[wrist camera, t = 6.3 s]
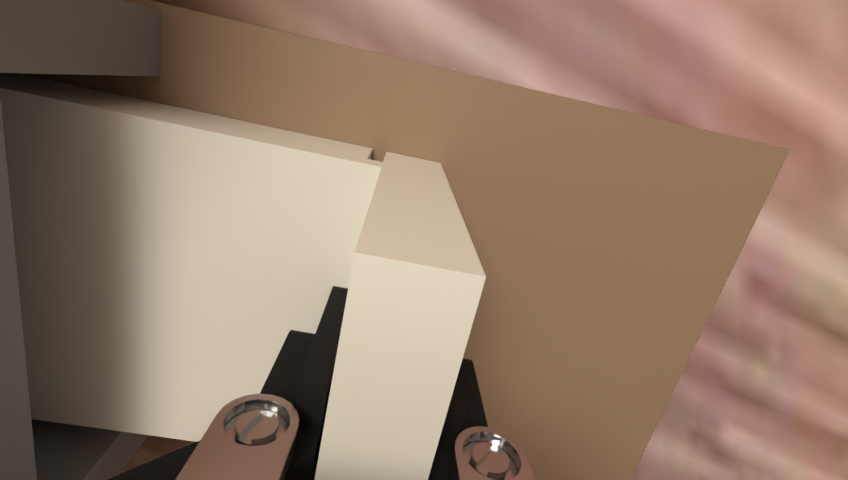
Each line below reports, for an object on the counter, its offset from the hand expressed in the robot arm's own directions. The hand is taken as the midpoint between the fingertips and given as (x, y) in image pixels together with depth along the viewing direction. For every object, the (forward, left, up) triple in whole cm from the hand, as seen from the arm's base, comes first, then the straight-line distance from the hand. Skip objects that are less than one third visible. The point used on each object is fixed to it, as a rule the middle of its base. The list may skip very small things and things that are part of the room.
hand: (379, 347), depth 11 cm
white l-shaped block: (+7, 0, -3) cm, 7 cm away
